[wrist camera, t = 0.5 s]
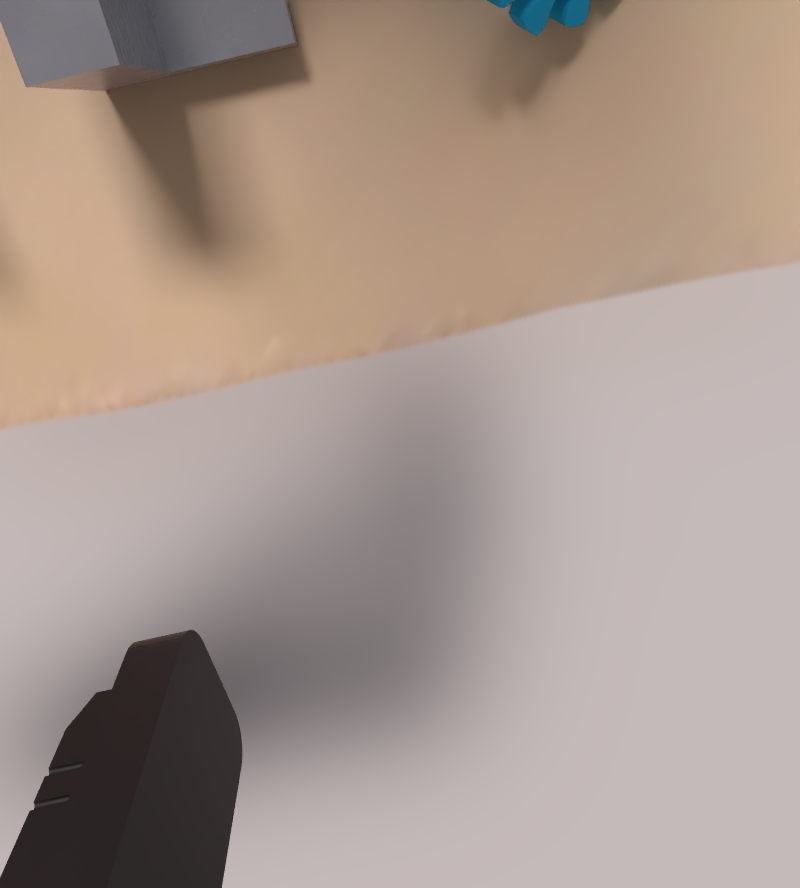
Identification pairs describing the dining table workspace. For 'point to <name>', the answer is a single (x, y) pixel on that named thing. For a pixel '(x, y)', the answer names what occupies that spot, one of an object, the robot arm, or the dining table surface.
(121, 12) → the bracket
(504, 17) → the dining table surface
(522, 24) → the gear
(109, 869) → the robot arm
